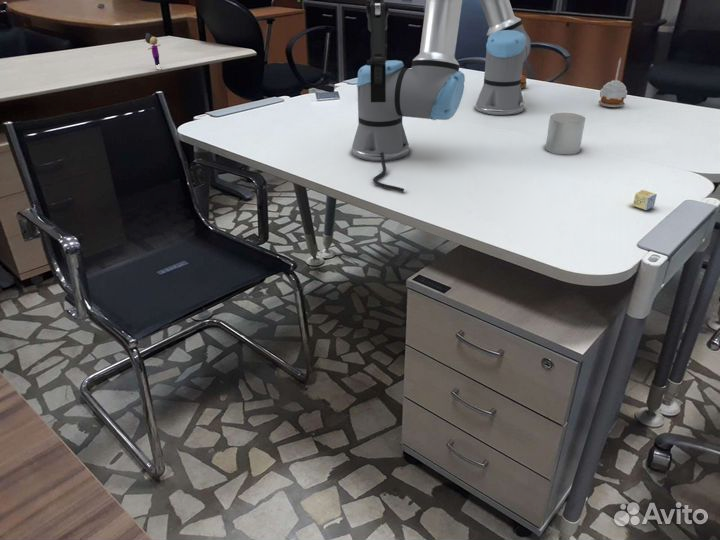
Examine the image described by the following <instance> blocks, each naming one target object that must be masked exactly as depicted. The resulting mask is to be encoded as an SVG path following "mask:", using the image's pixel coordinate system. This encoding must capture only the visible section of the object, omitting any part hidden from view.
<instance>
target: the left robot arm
mask: <svg viewBox="0 0 720 540" xmlns="http://www.w3.org/2000/svg"><path fill="white" fill-rule="evenodd" d="M369 1H370V3H368V4H367V3H366V6H365V7H366V8H365V12H366V18H367V30H368V31H369V32H370V39H369V40H370V47H369V48H370V59H367V60H366V64H365V65H363V66H361V67H360V68H359V69H358V71H357V81H356V82H357V84H356V87H357V88H356V89H357V111H358V113H357V115H358V116H357V117H358V118H357V119H358V125H357V128H356V131H355V135H354V138H353V141H352V144H351V147H352V155H353V156H354V157H356V158H358V159H360V160H364V161H371V162H381V167H382V171H381V173H379V174H377V175H375V176H374V177H373V179H372V180H373V183H374V184H375V185H377V186H379V187H381V188H384V189H387V190H394V191H397V192H402V193H404V192H405V189H404V188H403V187H399V186H395V185H391V184H387V183H383V182H380V181H379V180H378V179H380V178H382V177H383V176H385V174H386V172H387V167H386V162H389V161H394V160H398V159H399V160H400V159H401V158H404V157H406V156H407V155H409V151H410V150H409V149H410V145H409V141H408V137H407V134H406V132H405V128H404V125H403V124H404V123H403V117H407V118H416V119H425V120H426V119H427V120H432V121H436V120H437V121H439V120H440V121H448V120H450V119H452V118H453V117H454V116H455V114H456V113H457V112H458V109H459V107H460V104H461V102H462V99H463V94H464V90H465V82H466V81H465V80H466V77H465V74H464V72H462V71H461V70H460V63H459V62H458V60H457V58H456V49H457V41H458V34H459V26H460V20H461V13H462V7H463V6H462V5H463V0H425V9H424V17H423V23H422V24H423V25H422V32H421V39H420V40H421V41H420V48H419V53H418V54H417V55H416V56H415V57H414V58H413V59H412V61H411V68H407V67H406V68H405V64H404V62H403V61H402V60H397V59H393V60H390V59H389V60H387V57H386V50H388V43H387V42H386V31H387V30H388V17H389V13H390V12H389V3H386V2H385V0H369Z"/></svg>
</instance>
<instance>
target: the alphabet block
mask: <svg viewBox="0 0 720 540" xmlns="http://www.w3.org/2000/svg"><path fill="white" fill-rule="evenodd" d="M657 195H658V194H657V193H655V192H651V191H648V190H645V189H642V190H640V191H637V192H636V193H635V194H634V198H633V203H632V206H633V207H635V208H638V209H640V210H641V209H642V210H644V211H648V210H650V209H652V208H654V207H655V203H656V199H657Z"/></svg>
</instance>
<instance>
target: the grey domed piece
mask: <svg viewBox="0 0 720 540" xmlns="http://www.w3.org/2000/svg"><path fill="white" fill-rule="evenodd" d="M621 63H622V57H619V58H618V63H617V69H616V74H615V78H614V79H612V80H611V81H608V82H607V83H605V84H604V85H603V87H602V88H600V92H599V98H600V100H598V105H601V106H604V107H607V108H621V107H623V106H625V104H626V103H625V101H624V100H625V99H627V95H628V90H627V87H626V85H625V84H624V83H623V82H621V81H620V80H618V77H619V74H620V67H621V65H622V64H621Z"/></svg>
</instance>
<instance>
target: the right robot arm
mask: <svg viewBox="0 0 720 540" xmlns="http://www.w3.org/2000/svg"><path fill="white" fill-rule="evenodd" d="M479 3H480V5H481V8H482V11H483V15H484V17H485V20H486V23H487V26H488V30H487V32H486V37H487V42H486V44H485V49H486V52H485V63H484V76H483V84H482V88H481V90H480V93H479V94H478V97H477V100H476V103H475V109H476V110H477V111H478V112H481V113H483V114H487V115H493V116H512V115H516V114H517V115H518V114H521V113H522V112H523V111H524V107H525V105H524V104H525V100H524V97H523V92H522V88H521V87H520V84H521V76H522V75H523V66H524V62H525V61H526V60H527V58H529V55H530V52H531V48H532V42H531V39H530V38H531V37H530V36H529V35H528V33H527V32H526V31H525V27H524V25H523V22H522V18H520V17H518V16H515V14H514V11H513V8H512V4H511V2H510V0H479Z"/></svg>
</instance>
